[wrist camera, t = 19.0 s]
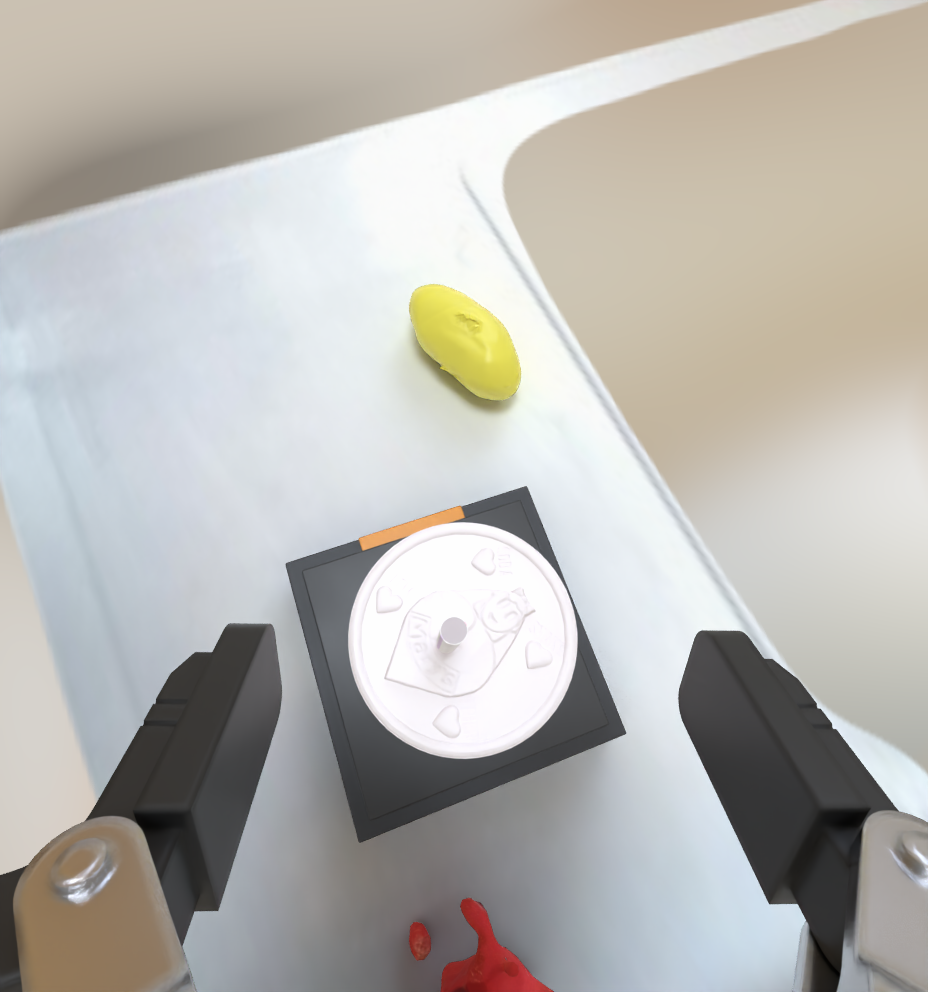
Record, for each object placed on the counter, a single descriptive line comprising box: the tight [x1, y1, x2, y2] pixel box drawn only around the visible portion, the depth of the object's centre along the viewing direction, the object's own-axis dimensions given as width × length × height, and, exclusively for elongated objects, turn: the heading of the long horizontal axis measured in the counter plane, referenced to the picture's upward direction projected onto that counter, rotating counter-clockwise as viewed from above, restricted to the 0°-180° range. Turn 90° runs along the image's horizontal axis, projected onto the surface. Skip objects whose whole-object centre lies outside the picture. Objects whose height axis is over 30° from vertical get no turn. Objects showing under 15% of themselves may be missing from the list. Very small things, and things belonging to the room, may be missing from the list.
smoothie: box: [348, 522, 578, 759], centre depth 18 cm, size 6×6×14 cm
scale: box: [286, 486, 626, 843], centre depth 26 cm, size 12×12×3 cm
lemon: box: [409, 284, 521, 400], centre depth 30 cm, size 4×8×4 cm, turn 38°
